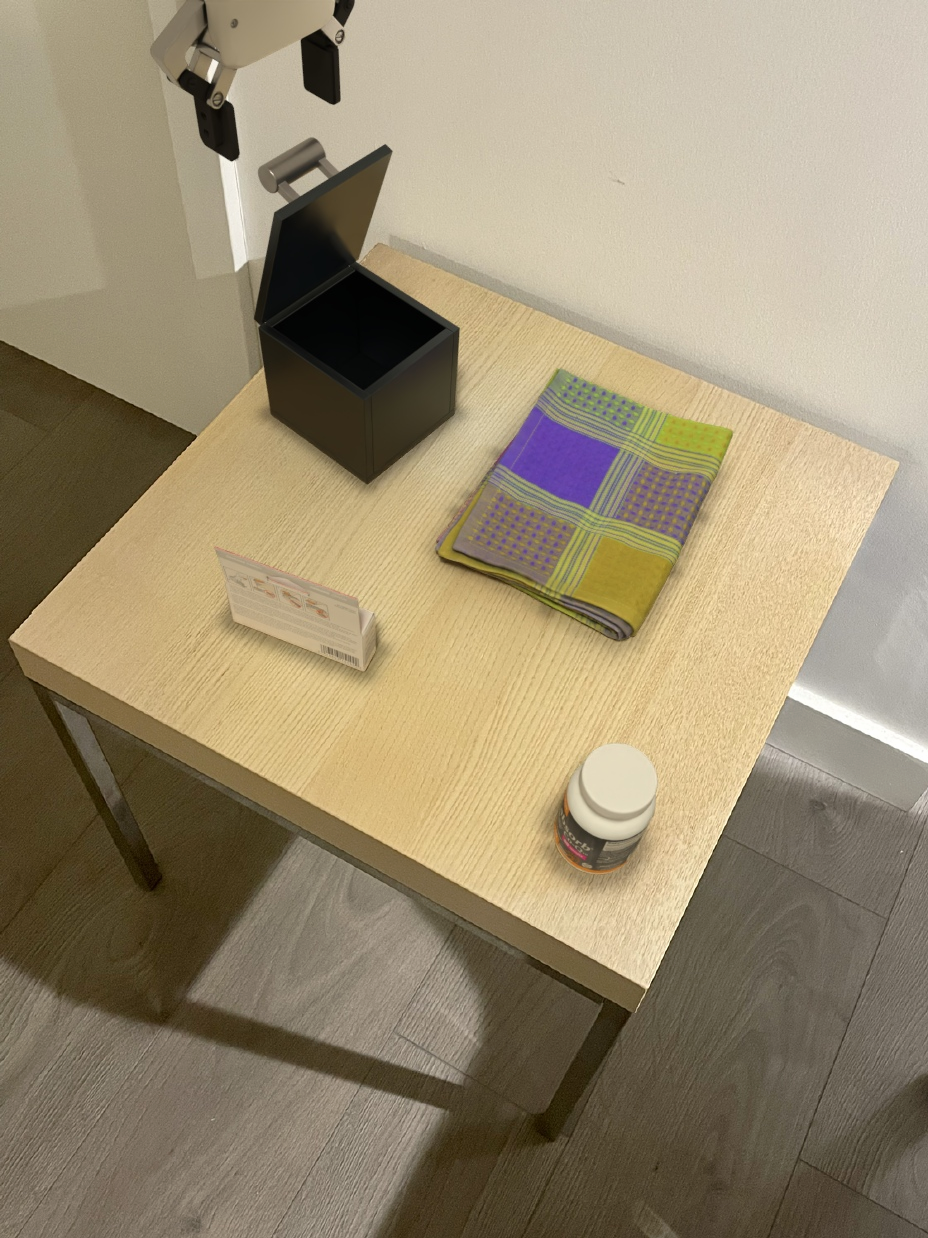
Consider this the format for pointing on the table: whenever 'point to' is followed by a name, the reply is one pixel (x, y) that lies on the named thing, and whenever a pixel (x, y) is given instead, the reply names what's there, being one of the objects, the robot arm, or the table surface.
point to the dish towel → (589, 503)
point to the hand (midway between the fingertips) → (273, 122)
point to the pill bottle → (606, 808)
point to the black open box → (360, 370)
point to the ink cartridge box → (298, 611)
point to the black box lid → (315, 222)
